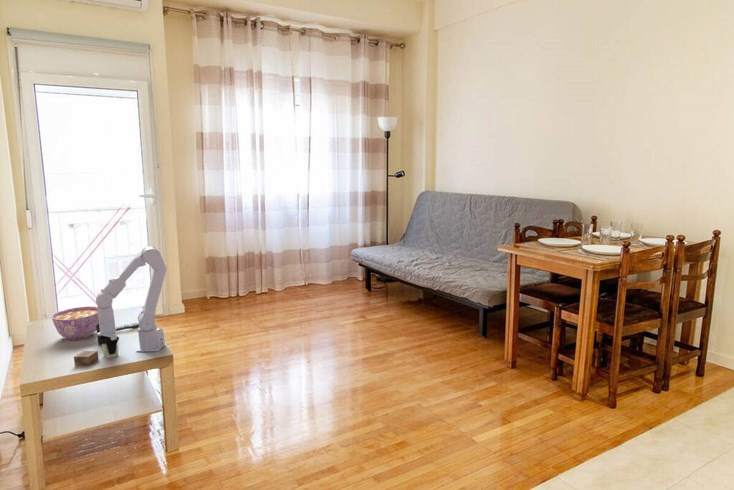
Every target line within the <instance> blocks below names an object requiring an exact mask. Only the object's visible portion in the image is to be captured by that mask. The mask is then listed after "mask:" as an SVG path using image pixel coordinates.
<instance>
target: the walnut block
mask: <svg viewBox="0 0 734 490" xmlns="http://www.w3.org/2000/svg"><path fill="white" fill-rule="evenodd" d="M97 361H99V352H98V350H82V351H81V352H79V353H77V354H76V355H74V356H73V362H74V366H75V367H89V366H91V365H94V363H96V362H97Z"/></svg>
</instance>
